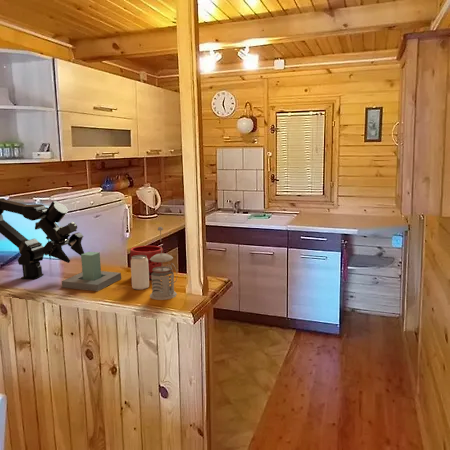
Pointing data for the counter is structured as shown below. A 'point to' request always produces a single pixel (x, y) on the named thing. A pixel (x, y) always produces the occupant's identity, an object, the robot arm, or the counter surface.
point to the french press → (162, 277)
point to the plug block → (91, 266)
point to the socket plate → (96, 285)
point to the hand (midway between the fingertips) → (77, 259)
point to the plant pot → (149, 252)
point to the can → (139, 272)
